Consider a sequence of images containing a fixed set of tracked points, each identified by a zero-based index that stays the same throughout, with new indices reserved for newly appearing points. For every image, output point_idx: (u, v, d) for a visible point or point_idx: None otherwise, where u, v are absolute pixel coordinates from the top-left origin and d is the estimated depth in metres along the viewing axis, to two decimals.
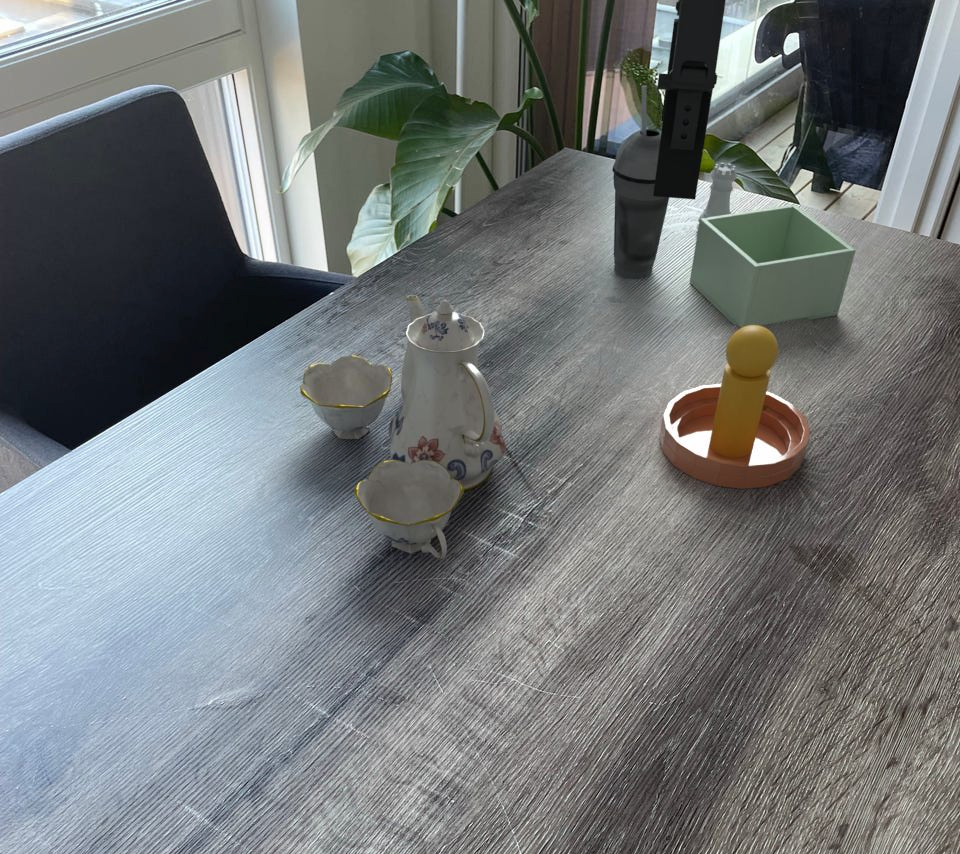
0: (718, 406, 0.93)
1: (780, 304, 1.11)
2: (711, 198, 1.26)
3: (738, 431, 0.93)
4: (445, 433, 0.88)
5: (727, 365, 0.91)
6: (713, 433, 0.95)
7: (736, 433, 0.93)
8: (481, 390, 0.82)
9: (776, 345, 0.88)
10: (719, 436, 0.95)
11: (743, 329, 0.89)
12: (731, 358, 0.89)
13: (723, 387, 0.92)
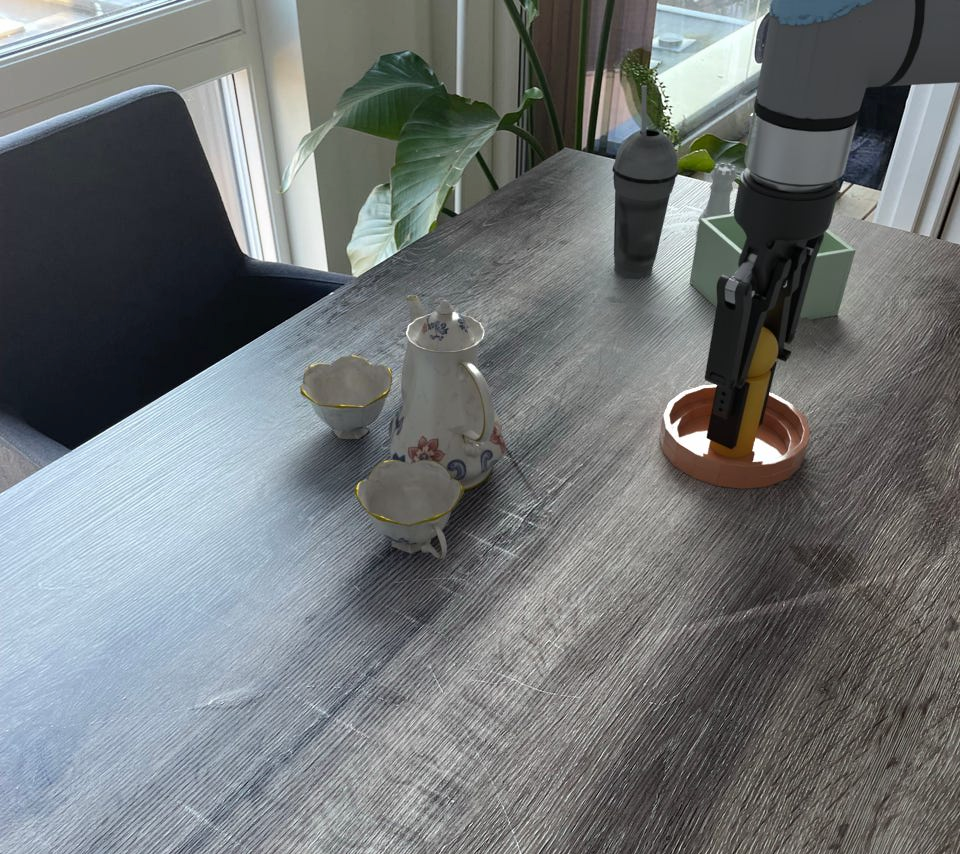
0: None
1: None
2: (711, 198, 1.26)
3: None
4: (445, 433, 0.88)
5: None
6: None
7: None
8: (481, 390, 0.82)
9: (776, 345, 0.88)
10: None
11: None
12: None
13: None
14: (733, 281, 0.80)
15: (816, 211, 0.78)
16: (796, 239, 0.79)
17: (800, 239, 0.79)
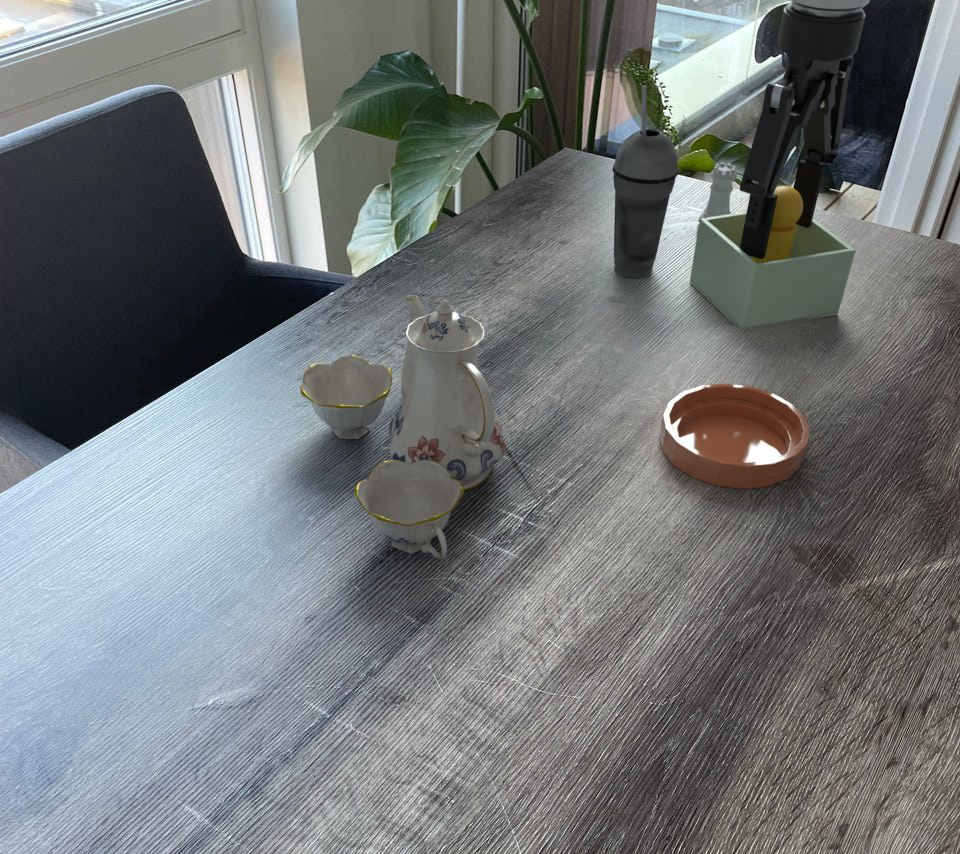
0: (753, 257, 1.14)
1: (780, 304, 1.11)
2: (711, 198, 1.26)
3: None
4: (445, 433, 0.88)
5: None
6: None
7: None
8: (481, 390, 0.82)
9: (801, 201, 1.09)
10: None
11: None
12: None
13: None
14: (780, 85, 0.97)
15: (847, 34, 0.95)
16: (830, 59, 0.97)
17: (833, 59, 0.97)
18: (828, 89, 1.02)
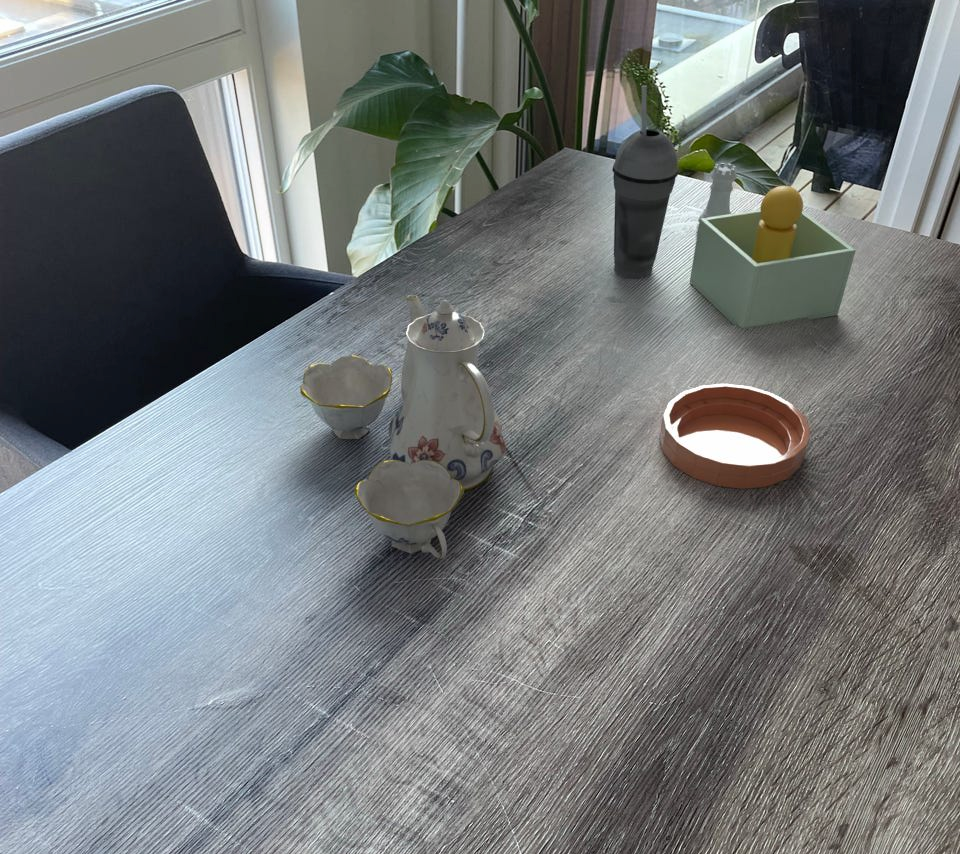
0: (753, 257, 1.14)
1: (780, 304, 1.11)
2: (711, 198, 1.26)
3: None
4: (445, 433, 0.88)
5: (761, 221, 1.12)
6: None
7: None
8: (481, 390, 0.82)
9: (801, 201, 1.09)
10: None
11: (775, 188, 1.09)
12: (765, 213, 1.10)
13: (757, 240, 1.13)
14: None
15: None
16: None
17: None
18: None
